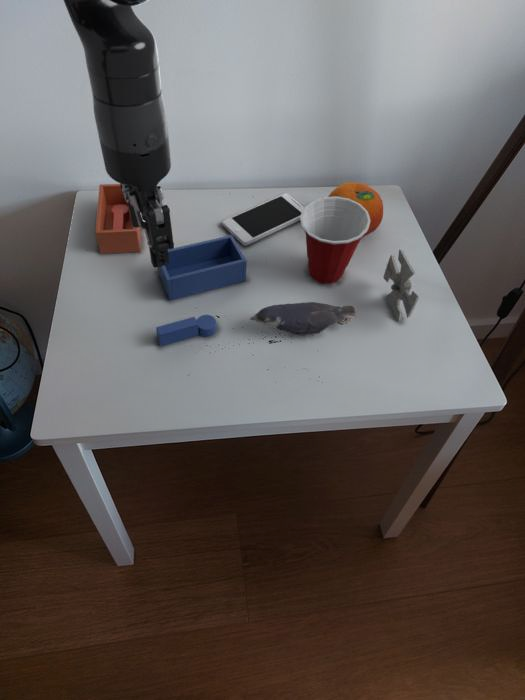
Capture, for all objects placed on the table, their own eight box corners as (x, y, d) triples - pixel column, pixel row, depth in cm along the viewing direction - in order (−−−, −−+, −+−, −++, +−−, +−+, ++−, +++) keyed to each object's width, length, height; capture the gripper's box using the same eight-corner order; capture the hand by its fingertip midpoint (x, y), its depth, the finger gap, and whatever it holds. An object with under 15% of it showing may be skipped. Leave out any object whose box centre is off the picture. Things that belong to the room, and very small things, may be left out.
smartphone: (221, 224, 94) (221, 220, 93) (286, 196, 100) (286, 192, 99) (244, 246, 91) (244, 242, 90) (309, 215, 97) (310, 211, 96)
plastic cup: (284, 256, 90) (291, 199, 80) (341, 247, 92) (354, 190, 83) (304, 300, 84) (314, 244, 74) (364, 289, 86) (382, 234, 76)
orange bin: (140, 251, 89) (136, 231, 85) (100, 253, 88) (95, 232, 84) (140, 204, 96) (137, 183, 93) (104, 205, 96) (99, 184, 92)
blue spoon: (162, 350, 76) (160, 338, 74) (156, 335, 78) (154, 323, 76) (218, 333, 79) (218, 322, 76) (212, 319, 80) (212, 308, 78)
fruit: (310, 223, 96) (316, 187, 89) (348, 203, 100) (356, 167, 94) (350, 255, 91) (360, 218, 85) (389, 232, 95) (400, 196, 89)
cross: (411, 330, 81) (431, 286, 73) (396, 332, 81) (414, 288, 73) (387, 284, 87) (403, 238, 79) (373, 286, 87) (387, 240, 79)
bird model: (356, 335, 80) (362, 314, 76) (251, 344, 78) (252, 323, 74) (349, 314, 83) (355, 293, 79) (247, 321, 80) (248, 300, 76)
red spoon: (129, 244, 89) (126, 232, 86) (111, 245, 88) (108, 232, 86) (130, 211, 94) (127, 199, 92) (113, 212, 94) (110, 199, 91)
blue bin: (169, 300, 82) (167, 280, 78) (158, 273, 86) (155, 252, 82) (245, 281, 86) (246, 260, 82) (231, 255, 89) (232, 234, 86)
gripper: (82, 105, 59) (108, 219, 72) (118, 173, 51) (139, 287, 64) (146, 95, 61) (159, 207, 74) (188, 159, 54) (195, 271, 66)
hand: (150, 244), depth 69 cm, fingers open, 8 cm apart
